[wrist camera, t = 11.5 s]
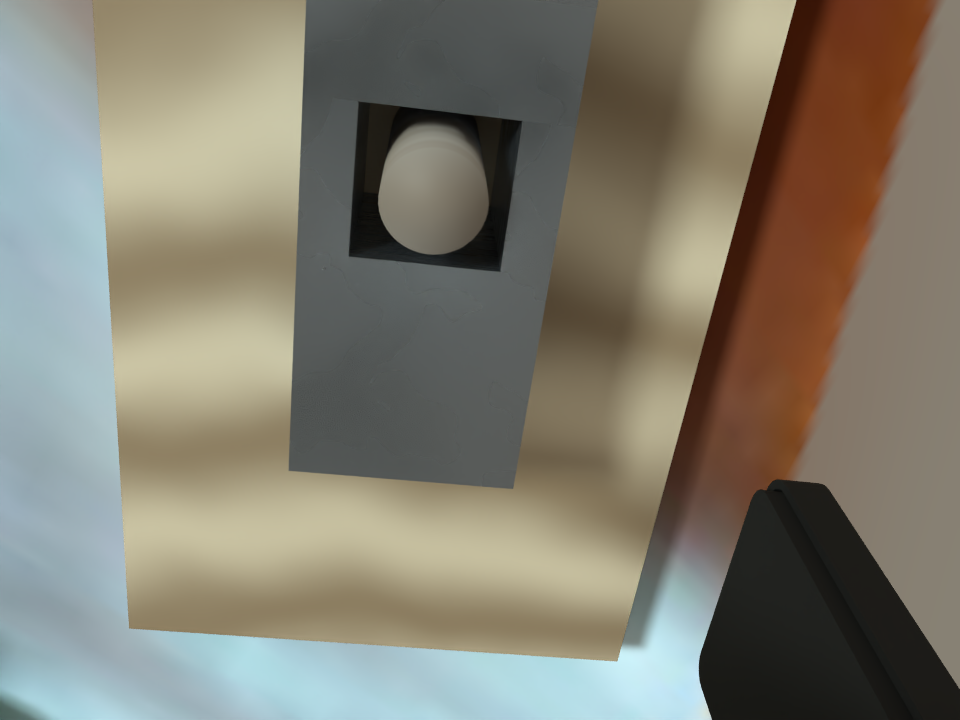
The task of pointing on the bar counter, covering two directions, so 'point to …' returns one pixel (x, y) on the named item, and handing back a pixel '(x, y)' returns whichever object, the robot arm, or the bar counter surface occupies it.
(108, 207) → the board
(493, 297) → the grey rectangular block
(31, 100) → the bar counter surface
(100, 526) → the bar counter surface
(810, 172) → the bar counter surface
